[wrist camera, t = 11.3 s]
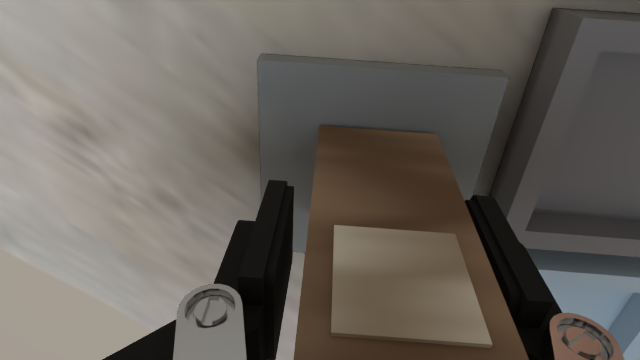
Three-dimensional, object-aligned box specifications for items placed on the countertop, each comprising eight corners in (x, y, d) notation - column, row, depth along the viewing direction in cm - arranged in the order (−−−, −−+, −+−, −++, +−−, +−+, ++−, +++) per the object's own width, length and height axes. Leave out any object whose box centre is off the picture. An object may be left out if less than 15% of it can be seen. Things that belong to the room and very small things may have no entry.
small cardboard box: (437, 131, 13) (555, 414, 6) (414, 223, 16) (477, 507, 8) (319, 122, 13) (290, 394, 6) (313, 215, 16) (287, 491, 8)
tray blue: (666, 250, 17) (699, 282, 15) (588, 364, 21) (607, 398, 19) (475, 235, 17) (488, 265, 15) (436, 351, 21) (443, 384, 19)
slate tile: (500, 70, 13) (509, 77, 12) (446, 251, 17) (451, 264, 17) (261, 53, 13) (257, 59, 13) (266, 237, 18) (262, 249, 17)
